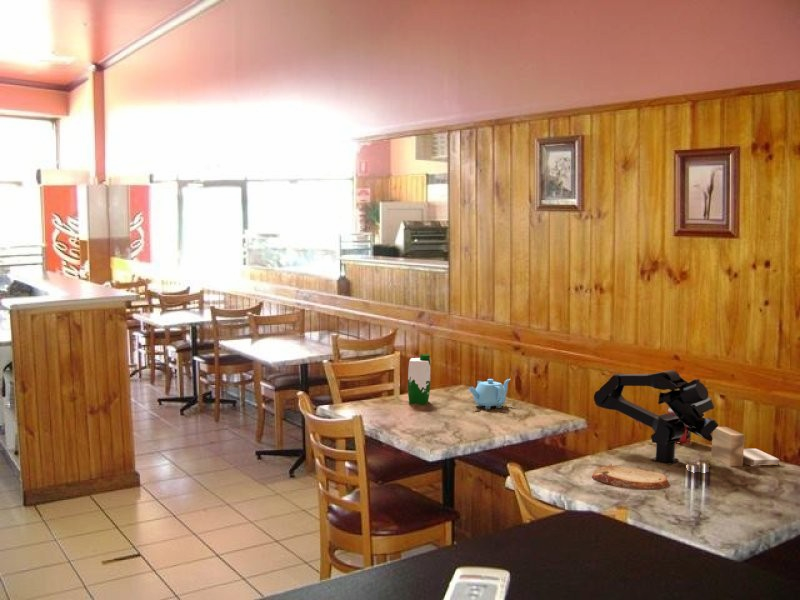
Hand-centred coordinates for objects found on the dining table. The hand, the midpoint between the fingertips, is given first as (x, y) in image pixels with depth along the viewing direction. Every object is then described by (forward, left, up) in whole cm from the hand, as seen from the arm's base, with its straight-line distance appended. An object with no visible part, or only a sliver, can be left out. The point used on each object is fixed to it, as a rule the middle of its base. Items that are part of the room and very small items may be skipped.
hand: (711, 440), depth 276 cm
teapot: (+14, +98, -7) cm, 99 cm away
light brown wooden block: (+5, -4, -7) cm, 9 cm away
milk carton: (-2, +122, -7) cm, 122 cm away
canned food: (+18, +19, -7) cm, 27 cm away
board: (+12, -9, -7) cm, 17 cm away
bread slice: (-38, +9, -8) cm, 40 cm away
